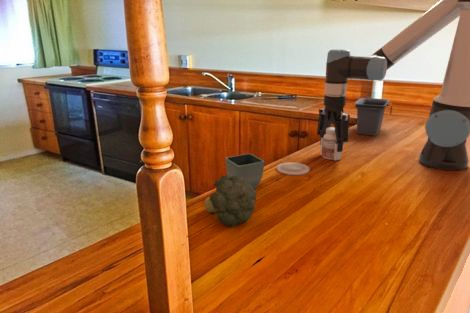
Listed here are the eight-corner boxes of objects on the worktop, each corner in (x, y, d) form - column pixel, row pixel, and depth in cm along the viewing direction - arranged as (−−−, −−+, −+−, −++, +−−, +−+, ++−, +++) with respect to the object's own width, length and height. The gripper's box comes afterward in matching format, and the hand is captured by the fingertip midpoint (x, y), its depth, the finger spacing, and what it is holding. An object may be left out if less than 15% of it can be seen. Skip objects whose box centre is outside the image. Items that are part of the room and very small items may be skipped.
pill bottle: (332, 154, 143) (335, 125, 139) (342, 158, 137) (345, 129, 134) (318, 156, 141) (320, 127, 137) (328, 160, 135) (330, 131, 132)
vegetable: (230, 192, 104) (270, 181, 93) (222, 237, 98) (264, 230, 87) (196, 174, 97) (235, 161, 86) (185, 222, 91) (226, 213, 81)
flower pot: (238, 195, 107) (238, 166, 104) (225, 185, 114) (224, 157, 111) (264, 189, 110) (265, 161, 108) (250, 180, 118) (250, 153, 115)
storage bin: (358, 125, 188) (361, 96, 183) (391, 128, 181) (395, 99, 177) (350, 134, 170) (352, 103, 165) (386, 138, 163) (390, 106, 159)
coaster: (316, 171, 125) (316, 169, 124) (288, 177, 120) (288, 175, 120) (296, 162, 134) (296, 160, 134) (270, 167, 129) (270, 165, 129)
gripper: (363, 98, 125) (357, 163, 132) (325, 90, 142) (320, 148, 149) (347, 99, 122) (341, 166, 129) (309, 92, 138) (305, 151, 146)
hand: (330, 156), depth 139 cm, fingers open, 7 cm apart
